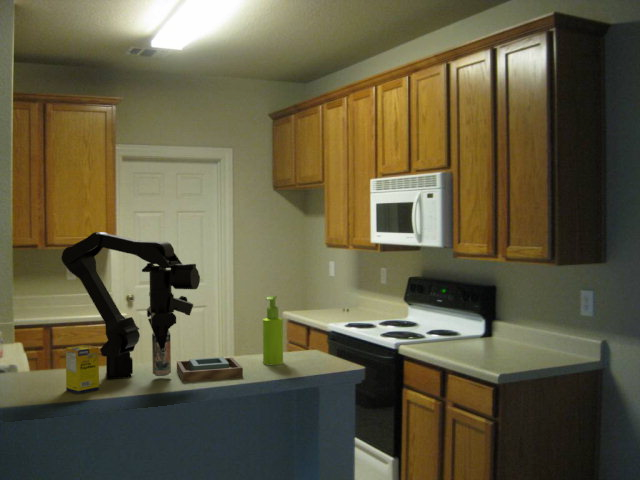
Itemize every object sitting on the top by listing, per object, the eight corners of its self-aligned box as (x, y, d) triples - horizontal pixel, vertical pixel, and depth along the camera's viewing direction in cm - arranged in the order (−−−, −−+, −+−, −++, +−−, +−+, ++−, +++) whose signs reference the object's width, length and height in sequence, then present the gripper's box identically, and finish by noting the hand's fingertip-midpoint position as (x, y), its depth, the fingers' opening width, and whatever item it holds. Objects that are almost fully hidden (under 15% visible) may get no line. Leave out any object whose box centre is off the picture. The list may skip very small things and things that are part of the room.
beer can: (152, 377, 181) (152, 332, 181) (152, 373, 186) (151, 329, 185) (171, 376, 183) (170, 331, 182) (170, 372, 187) (169, 328, 187)
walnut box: (183, 381, 181) (182, 372, 180) (176, 370, 195) (176, 361, 195) (242, 377, 185) (242, 367, 185) (232, 365, 200) (232, 357, 200)
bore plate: (193, 377, 184) (193, 366, 184) (189, 369, 193) (189, 359, 193) (229, 374, 187) (229, 363, 187) (223, 367, 196) (223, 356, 196)
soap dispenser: (260, 365, 200) (259, 297, 200) (266, 360, 207) (265, 294, 206) (279, 366, 199) (279, 297, 198) (285, 361, 206) (284, 294, 205)
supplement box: (99, 389, 173) (99, 346, 172) (77, 394, 168) (77, 350, 168) (87, 386, 177) (86, 344, 176) (65, 390, 172) (64, 347, 172)
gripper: (195, 291, 177) (196, 351, 178) (186, 284, 195) (187, 339, 195) (151, 292, 174) (152, 353, 174) (146, 286, 191) (147, 341, 192)
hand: (161, 346), depth 184 cm, fingers closed on beer can, 5 cm apart
